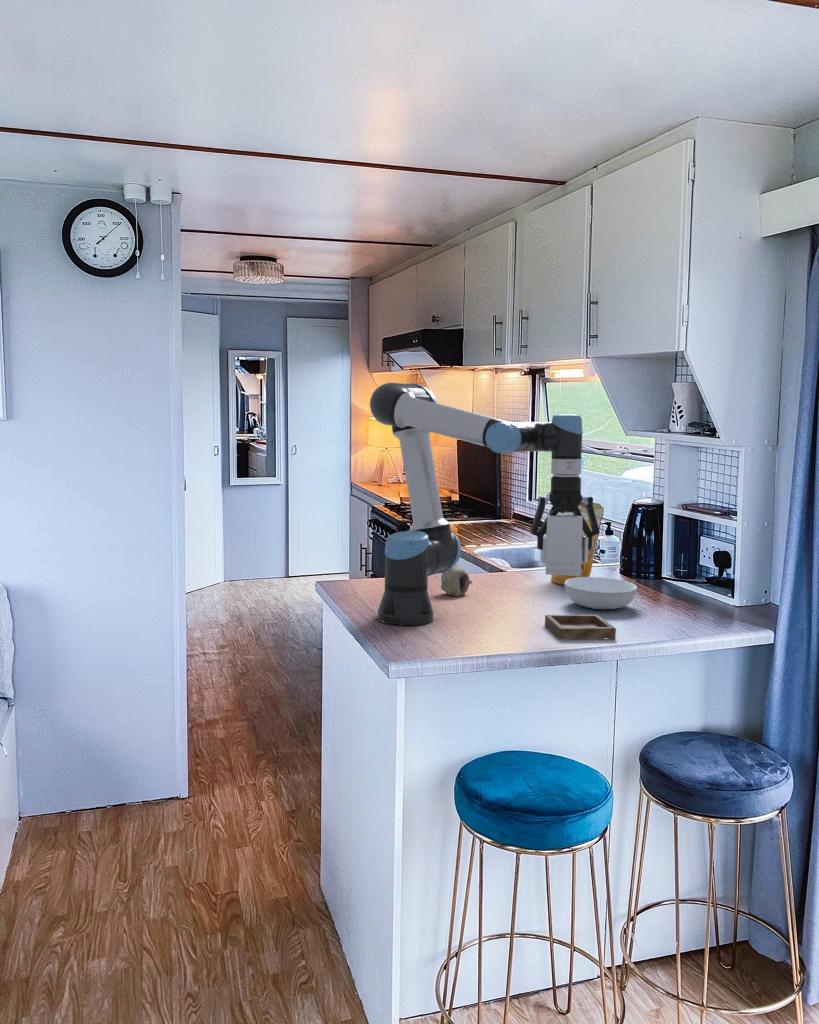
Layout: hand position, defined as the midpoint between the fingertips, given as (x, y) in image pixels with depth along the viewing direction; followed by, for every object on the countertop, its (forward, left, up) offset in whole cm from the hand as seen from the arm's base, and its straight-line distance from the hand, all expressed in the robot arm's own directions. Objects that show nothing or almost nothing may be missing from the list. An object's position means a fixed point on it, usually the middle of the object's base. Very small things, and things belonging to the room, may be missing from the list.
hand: (564, 562), depth 222 cm
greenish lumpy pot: (-20, +46, -19) cm, 54 cm away
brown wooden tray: (+5, +1, -19) cm, 19 cm away
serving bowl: (+20, +29, -19) cm, 40 cm away
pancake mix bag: (+21, +60, -19) cm, 66 cm away
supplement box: (0, 0, -3) cm, 3 cm away
